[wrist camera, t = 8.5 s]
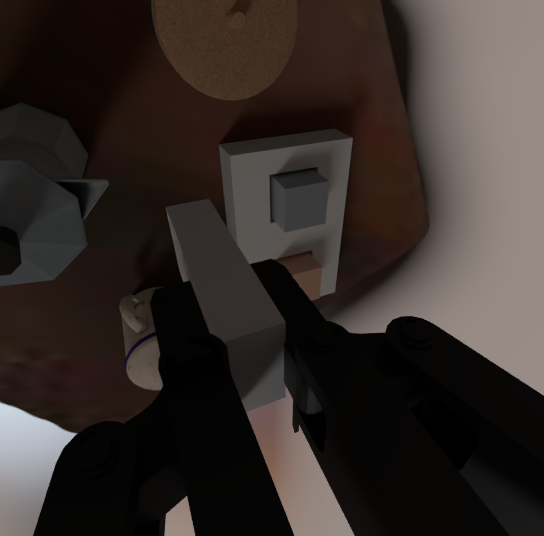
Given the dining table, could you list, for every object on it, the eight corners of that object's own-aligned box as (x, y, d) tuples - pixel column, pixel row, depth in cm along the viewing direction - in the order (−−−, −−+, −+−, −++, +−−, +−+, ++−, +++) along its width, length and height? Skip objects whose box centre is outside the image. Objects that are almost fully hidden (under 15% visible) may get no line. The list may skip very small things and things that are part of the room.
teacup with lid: (204, 312, 50) (228, 376, 41) (148, 348, 50) (161, 420, 41) (153, 255, 42) (169, 319, 33) (86, 296, 42) (85, 373, 33)
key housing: (218, 144, 38) (229, 155, 35) (334, 128, 42) (352, 137, 39) (234, 300, 51) (243, 318, 48) (321, 276, 55) (334, 292, 52)
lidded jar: (284, 1, 33) (336, 0, 26) (225, 107, 36) (257, 131, 29) (180, -105, 27) (212, -145, 20) (119, 35, 30) (128, 43, 23)
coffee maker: (72, 76, 30) (59, 132, 17) (126, 170, 36) (149, 267, 22) (-111, 145, 28) (-295, 271, 15) (-23, 233, 34) (-97, 382, 20)
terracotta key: (270, 257, 45) (284, 276, 42) (305, 248, 47) (322, 266, 44) (271, 288, 48) (284, 308, 45) (304, 278, 50) (319, 298, 47)
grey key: (268, 173, 39) (285, 189, 36) (309, 166, 41) (329, 181, 37) (269, 215, 42) (284, 232, 39) (307, 207, 43) (325, 223, 40)
